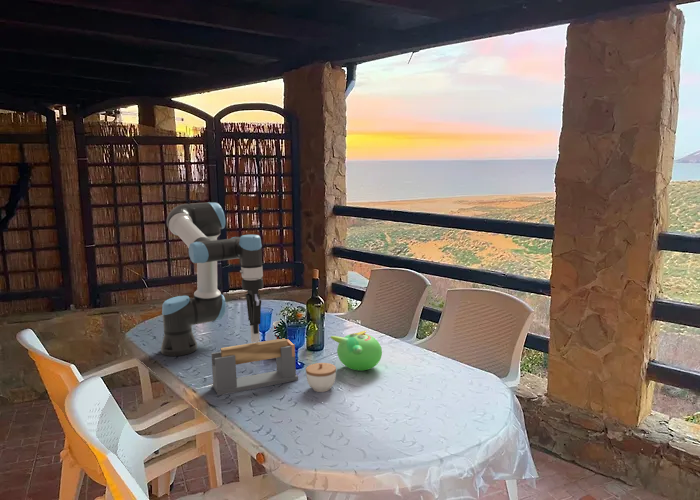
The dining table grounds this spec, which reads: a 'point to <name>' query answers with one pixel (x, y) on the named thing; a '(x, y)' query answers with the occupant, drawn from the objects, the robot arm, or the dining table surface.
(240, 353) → the slat
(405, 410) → the dining table surface
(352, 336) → the toy bird
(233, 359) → the stand
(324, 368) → the lidded jar
